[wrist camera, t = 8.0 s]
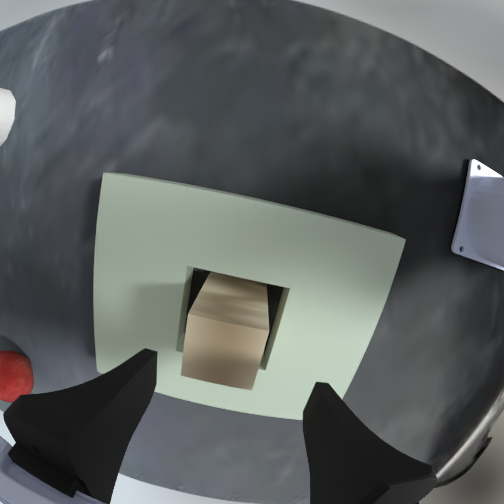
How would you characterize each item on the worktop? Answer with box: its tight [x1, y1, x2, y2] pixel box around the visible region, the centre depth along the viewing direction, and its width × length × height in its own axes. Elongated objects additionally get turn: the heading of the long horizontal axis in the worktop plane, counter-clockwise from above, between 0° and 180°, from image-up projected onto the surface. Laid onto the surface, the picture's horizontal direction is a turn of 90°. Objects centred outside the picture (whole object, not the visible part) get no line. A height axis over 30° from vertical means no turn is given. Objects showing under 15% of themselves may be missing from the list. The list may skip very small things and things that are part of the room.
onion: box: [0, 351, 34, 402], centre depth 20 cm, size 6×6×8 cm
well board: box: [93, 173, 406, 420], centre depth 20 cm, size 20×16×2 cm
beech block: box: [181, 271, 269, 391], centre depth 17 cm, size 4×4×7 cm
